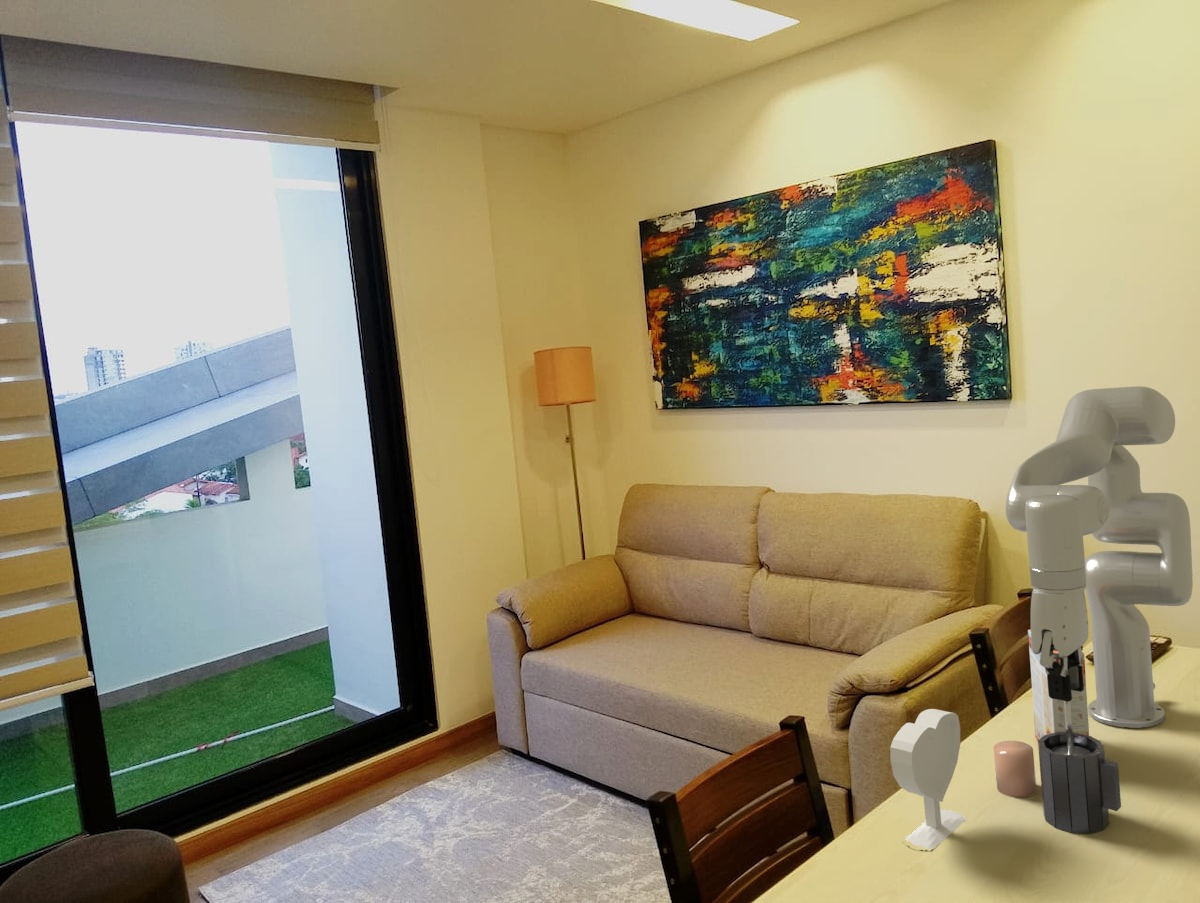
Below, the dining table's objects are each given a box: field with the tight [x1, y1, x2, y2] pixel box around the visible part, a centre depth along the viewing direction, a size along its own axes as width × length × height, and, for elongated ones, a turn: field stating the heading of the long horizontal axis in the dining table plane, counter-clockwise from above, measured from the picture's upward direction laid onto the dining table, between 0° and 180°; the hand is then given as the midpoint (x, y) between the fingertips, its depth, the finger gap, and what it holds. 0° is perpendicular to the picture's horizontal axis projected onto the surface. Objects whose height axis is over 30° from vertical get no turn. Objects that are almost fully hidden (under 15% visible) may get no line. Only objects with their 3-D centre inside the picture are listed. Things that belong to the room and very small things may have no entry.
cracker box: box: [1027, 628, 1090, 741], centre depth 162 cm, size 14×6×21 cm, turn 168°
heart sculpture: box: [889, 708, 967, 850], centre depth 144 cm, size 16×5×18 cm, turn 133°
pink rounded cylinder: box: [993, 740, 1037, 799], centre depth 153 cm, size 6×6×7 cm
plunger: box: [1051, 662, 1091, 755], centre depth 141 cm, size 6×6×15 cm
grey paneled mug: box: [1037, 732, 1122, 835], centre depth 141 cm, size 9×11×12 cm
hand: (1066, 693), depth 141 cm, fingers closed on plunger, 3 cm apart
